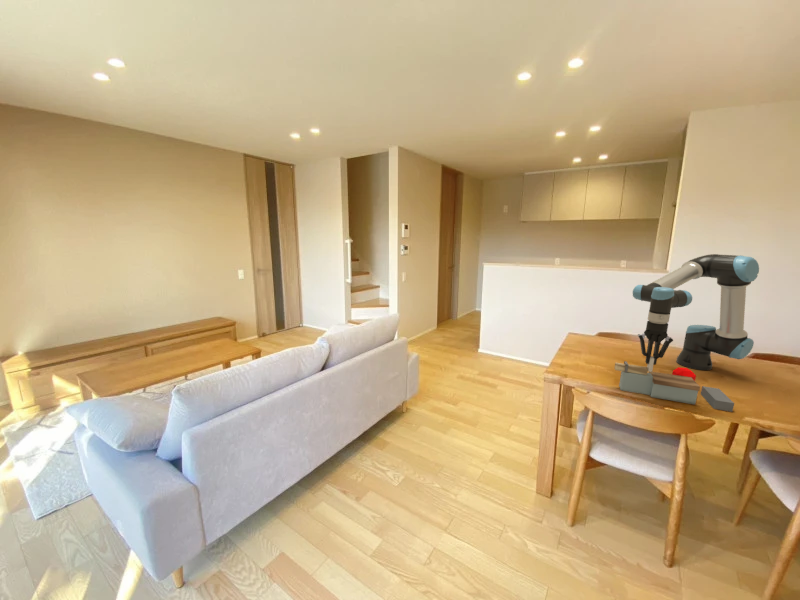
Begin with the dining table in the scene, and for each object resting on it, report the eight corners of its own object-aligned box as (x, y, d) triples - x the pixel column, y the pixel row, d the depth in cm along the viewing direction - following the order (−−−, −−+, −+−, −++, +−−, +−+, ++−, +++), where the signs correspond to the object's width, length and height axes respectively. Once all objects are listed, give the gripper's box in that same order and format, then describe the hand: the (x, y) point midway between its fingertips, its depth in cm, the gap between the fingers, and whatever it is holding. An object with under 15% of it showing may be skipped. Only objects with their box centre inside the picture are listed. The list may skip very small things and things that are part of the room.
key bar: (614, 368, 159) (615, 362, 158) (645, 372, 154) (646, 366, 153) (615, 370, 157) (616, 364, 156) (646, 374, 152) (647, 368, 151)
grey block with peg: (619, 386, 160) (623, 361, 157) (647, 391, 156) (652, 365, 153) (620, 390, 157) (624, 364, 154) (649, 395, 152) (654, 368, 149)
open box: (646, 389, 158) (648, 375, 156) (688, 396, 151) (691, 382, 150) (650, 397, 150) (653, 383, 149) (695, 404, 144) (698, 390, 142)
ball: (686, 380, 167) (689, 366, 165) (696, 388, 159) (699, 373, 157) (668, 379, 168) (671, 365, 167) (677, 386, 161) (680, 371, 159)
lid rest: (700, 394, 153) (702, 386, 152) (717, 396, 151) (719, 388, 150) (713, 408, 141) (715, 400, 140) (732, 411, 138) (734, 403, 137)
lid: (648, 375, 157) (648, 371, 156) (690, 381, 150) (691, 377, 150) (654, 383, 148) (654, 379, 148) (699, 391, 142) (700, 386, 141)
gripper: (642, 322, 146) (634, 371, 151) (678, 325, 141) (669, 376, 146) (638, 318, 153) (630, 365, 158) (673, 321, 148) (664, 369, 153)
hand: (649, 370), depth 152 cm, fingers closed
